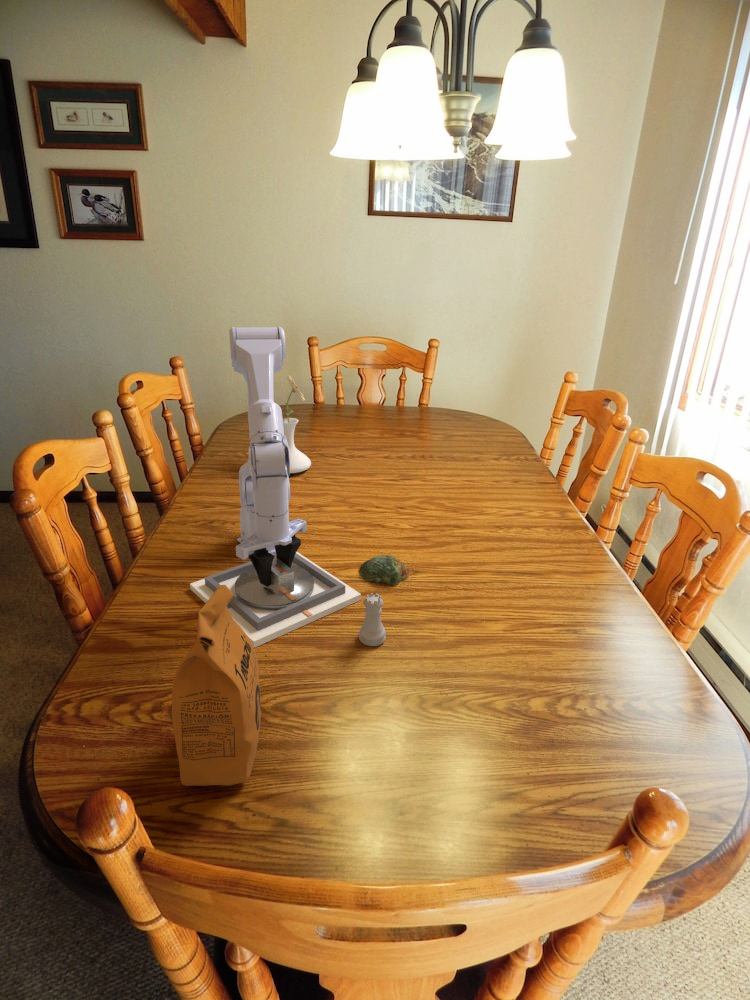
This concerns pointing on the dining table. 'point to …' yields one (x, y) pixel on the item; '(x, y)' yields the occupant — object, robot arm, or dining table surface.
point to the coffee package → (217, 700)
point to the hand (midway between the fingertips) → (274, 579)
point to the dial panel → (281, 621)
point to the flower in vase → (297, 458)
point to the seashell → (384, 570)
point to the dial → (275, 586)
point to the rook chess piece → (372, 622)
